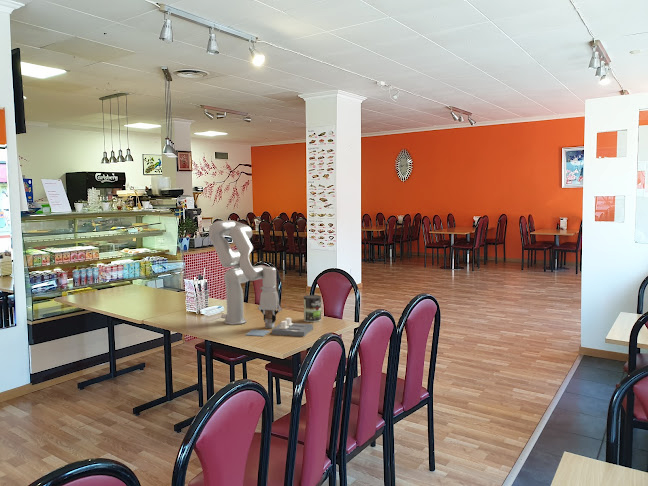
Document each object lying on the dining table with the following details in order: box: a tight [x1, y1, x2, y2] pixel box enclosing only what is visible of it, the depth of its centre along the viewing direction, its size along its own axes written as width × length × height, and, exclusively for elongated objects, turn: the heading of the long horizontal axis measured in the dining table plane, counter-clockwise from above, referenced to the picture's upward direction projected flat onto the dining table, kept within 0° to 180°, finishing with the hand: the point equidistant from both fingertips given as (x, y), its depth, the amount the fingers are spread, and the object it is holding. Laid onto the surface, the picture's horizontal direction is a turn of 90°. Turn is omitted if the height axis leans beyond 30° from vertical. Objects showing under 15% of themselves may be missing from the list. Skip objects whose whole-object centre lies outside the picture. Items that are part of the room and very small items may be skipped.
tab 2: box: [284, 317, 294, 326], centre depth 278 cm, size 4×4×4 cm
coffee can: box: [303, 294, 322, 323], centre depth 299 cm, size 10×10×14 cm
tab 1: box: [279, 320, 289, 329], centre depth 271 cm, size 4×4×4 cm
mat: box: [244, 329, 271, 337], centre depth 272 cm, size 10×10×1 cm
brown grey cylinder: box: [264, 310, 276, 329], centre depth 283 cm, size 4×4×10 cm
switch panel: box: [271, 322, 314, 337], centre depth 275 cm, size 18×16×3 cm
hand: (269, 321), depth 283 cm, fingers closed on brown grey cylinder, 4 cm apart
